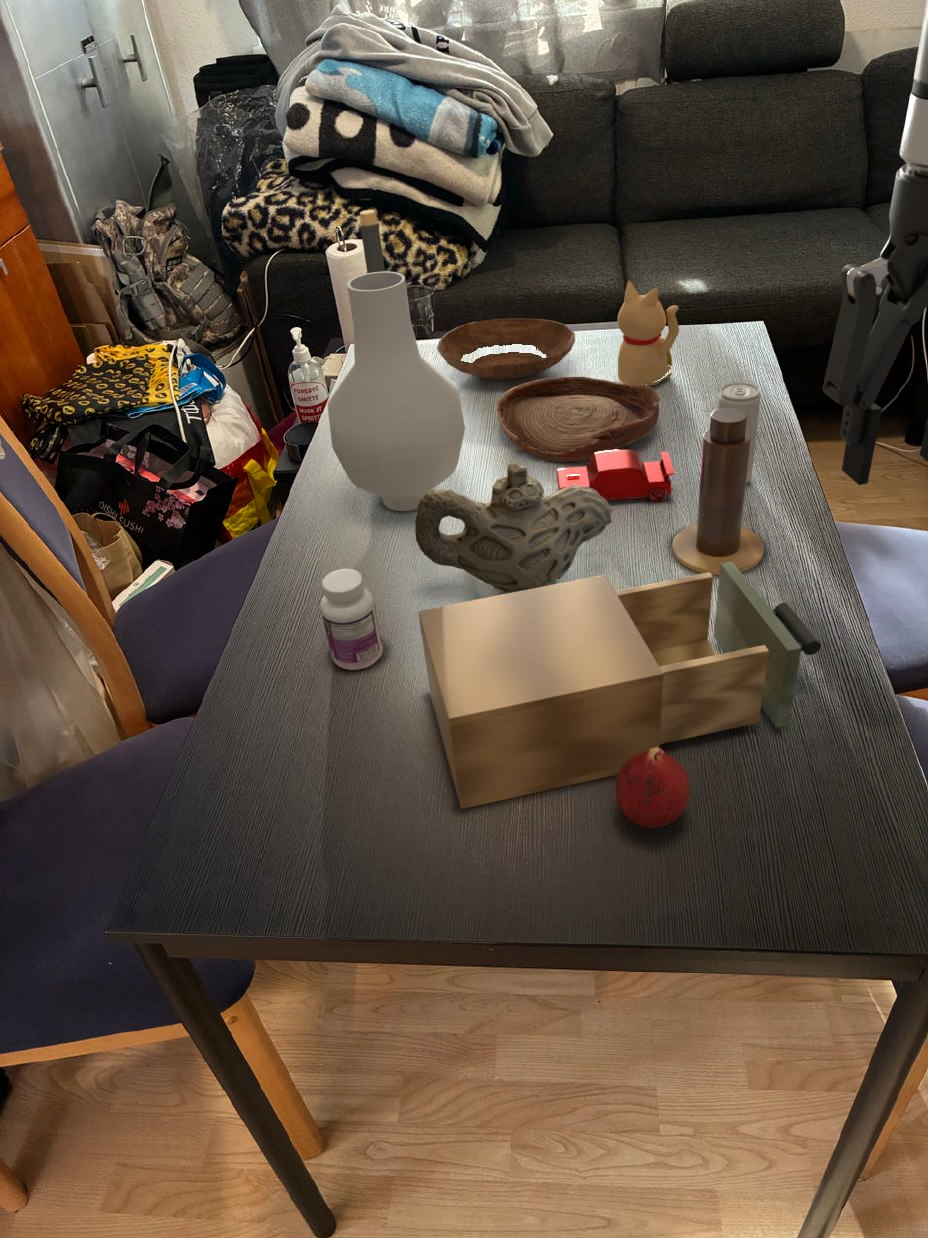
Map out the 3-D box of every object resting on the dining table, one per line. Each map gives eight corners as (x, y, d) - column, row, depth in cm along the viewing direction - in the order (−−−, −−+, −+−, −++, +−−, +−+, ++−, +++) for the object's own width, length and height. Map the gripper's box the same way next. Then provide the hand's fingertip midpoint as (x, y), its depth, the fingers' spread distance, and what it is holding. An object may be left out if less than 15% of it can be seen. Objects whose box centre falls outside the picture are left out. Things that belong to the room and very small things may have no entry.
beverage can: (711, 488, 117) (718, 398, 110) (712, 469, 121) (719, 381, 114) (751, 490, 116) (761, 399, 109) (751, 470, 120) (761, 382, 112)
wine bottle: (429, 412, 142) (404, 201, 124) (419, 436, 136) (390, 218, 117) (377, 412, 143) (345, 204, 125) (365, 437, 137) (329, 222, 119)
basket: (480, 459, 129) (477, 426, 126) (519, 396, 143) (518, 365, 140) (645, 471, 122) (646, 437, 119) (669, 404, 137) (670, 372, 134)
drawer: (765, 625, 94) (775, 552, 88) (834, 715, 83) (850, 637, 78) (564, 667, 92) (562, 594, 86) (609, 764, 81) (609, 688, 76)
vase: (473, 463, 128) (453, 252, 111) (469, 528, 115) (446, 300, 98) (352, 471, 129) (314, 263, 112) (335, 536, 116) (289, 312, 99)
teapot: (598, 540, 110) (597, 423, 101) (626, 597, 101) (629, 473, 92) (418, 570, 109) (401, 453, 100) (430, 630, 100) (413, 507, 90)
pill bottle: (336, 640, 100) (319, 565, 94) (385, 637, 99) (372, 562, 93) (328, 673, 95) (310, 597, 90) (380, 671, 95) (365, 594, 89)
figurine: (691, 377, 143) (697, 278, 134) (648, 399, 139) (652, 297, 130) (648, 363, 149) (651, 267, 140) (605, 384, 144) (606, 285, 135)
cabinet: (605, 661, 93) (605, 574, 87) (658, 765, 82) (663, 673, 75) (431, 697, 91) (418, 610, 85) (461, 809, 80) (448, 718, 73)
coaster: (779, 565, 103) (780, 560, 103) (693, 582, 102) (693, 577, 102) (739, 519, 111) (740, 515, 111) (659, 535, 110) (659, 530, 110)
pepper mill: (746, 552, 105) (761, 420, 95) (705, 560, 104) (716, 428, 94) (728, 530, 108) (740, 401, 99) (689, 538, 108) (697, 409, 98)
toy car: (667, 480, 120) (668, 445, 117) (674, 502, 115) (676, 466, 112) (556, 487, 121) (555, 453, 118) (559, 510, 116) (558, 474, 113)
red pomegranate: (676, 857, 74) (681, 788, 69) (606, 836, 76) (606, 768, 71) (694, 803, 78) (701, 735, 73) (627, 785, 80) (629, 717, 75)
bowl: (455, 346, 162) (452, 317, 159) (583, 345, 157) (582, 316, 154) (427, 394, 147) (423, 364, 144) (567, 396, 142) (566, 364, 139)
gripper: (854, 196, 59) (806, 512, 73) (1130, 154, 61) (1031, 469, 75) (797, 172, 65) (762, 468, 79) (1050, 133, 67) (972, 429, 81)
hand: (894, 468), depth 77 cm, fingers open, 6 cm apart
